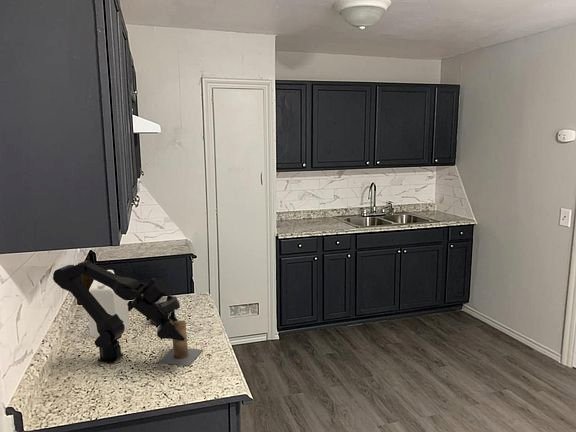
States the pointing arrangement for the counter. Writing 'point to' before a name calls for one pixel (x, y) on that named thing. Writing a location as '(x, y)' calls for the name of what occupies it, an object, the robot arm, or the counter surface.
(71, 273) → the robot arm
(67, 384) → the counter surface
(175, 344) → the pepper mill
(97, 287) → the milk
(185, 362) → the mat
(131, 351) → the counter surface
